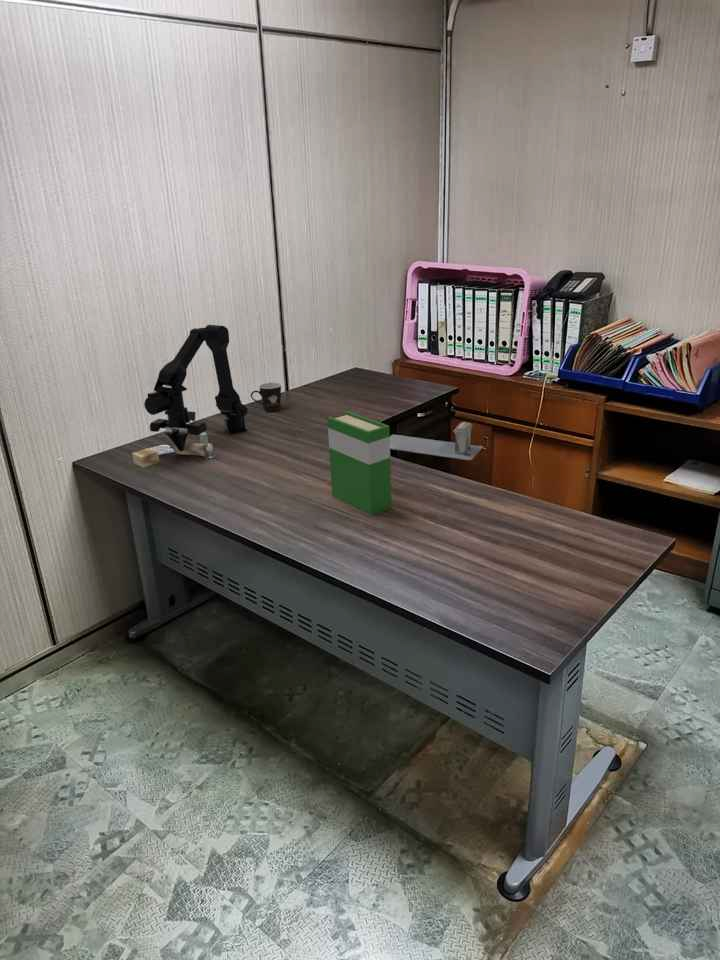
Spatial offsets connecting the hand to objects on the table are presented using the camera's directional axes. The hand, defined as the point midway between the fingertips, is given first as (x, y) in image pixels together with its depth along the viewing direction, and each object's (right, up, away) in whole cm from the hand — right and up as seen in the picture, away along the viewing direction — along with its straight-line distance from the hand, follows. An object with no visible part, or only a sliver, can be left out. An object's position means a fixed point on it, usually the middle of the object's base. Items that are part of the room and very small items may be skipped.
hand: (181, 450), depth 235 cm
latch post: (+5, +3, +11) cm, 12 cm away
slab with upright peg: (+84, +1, -1) cm, 84 cm away
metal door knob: (+10, -2, 0) cm, 10 cm away
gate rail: (+3, -1, +2) cm, 4 cm away
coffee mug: (+24, +18, +44) cm, 53 cm away
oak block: (-11, -4, -3) cm, 12 cm away
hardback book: (+61, -16, -37) cm, 73 cm away
